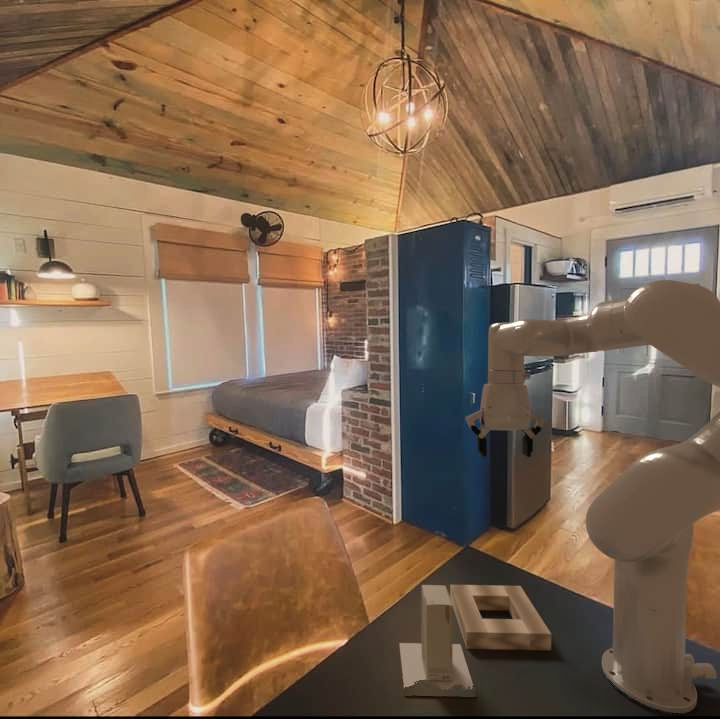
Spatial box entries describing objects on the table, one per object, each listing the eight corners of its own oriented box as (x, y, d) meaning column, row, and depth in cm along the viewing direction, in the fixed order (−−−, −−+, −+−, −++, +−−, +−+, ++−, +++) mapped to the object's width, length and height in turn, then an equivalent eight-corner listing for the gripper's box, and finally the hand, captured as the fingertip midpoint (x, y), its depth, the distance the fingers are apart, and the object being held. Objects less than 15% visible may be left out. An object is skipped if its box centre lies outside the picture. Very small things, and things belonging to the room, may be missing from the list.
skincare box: (453, 682, 65) (454, 606, 65) (426, 681, 66) (426, 606, 65) (445, 652, 72) (446, 583, 72) (420, 652, 72) (421, 583, 72)
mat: (460, 646, 74) (460, 644, 74) (476, 697, 63) (476, 695, 63) (399, 645, 74) (399, 642, 74) (404, 696, 63) (404, 693, 63)
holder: (520, 599, 88) (520, 585, 88) (551, 650, 73) (551, 633, 73) (450, 598, 88) (450, 584, 88) (466, 648, 73) (466, 632, 73)
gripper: (538, 377, 94) (536, 451, 95) (462, 377, 95) (461, 450, 95) (552, 380, 87) (551, 460, 87) (470, 379, 87) (469, 459, 88)
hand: (504, 455), depth 91 cm, fingers open, 9 cm apart
